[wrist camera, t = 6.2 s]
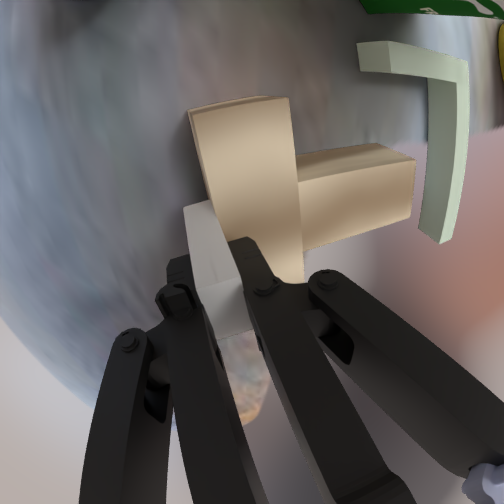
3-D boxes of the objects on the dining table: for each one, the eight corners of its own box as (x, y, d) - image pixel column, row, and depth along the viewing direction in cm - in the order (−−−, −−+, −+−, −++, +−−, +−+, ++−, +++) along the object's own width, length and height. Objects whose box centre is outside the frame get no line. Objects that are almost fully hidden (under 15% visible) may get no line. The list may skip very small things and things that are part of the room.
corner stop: (356, 43, 12) (387, 40, 10) (439, 58, 14) (467, 61, 11) (361, 248, 22) (382, 269, 19) (430, 223, 23) (451, 238, 20)
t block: (187, 110, 13) (192, 115, 10) (374, 88, 14) (417, 95, 11) (230, 282, 20) (244, 322, 17) (371, 237, 21) (401, 264, 18)
